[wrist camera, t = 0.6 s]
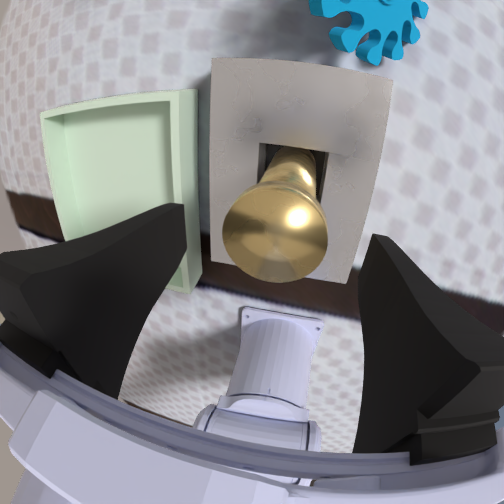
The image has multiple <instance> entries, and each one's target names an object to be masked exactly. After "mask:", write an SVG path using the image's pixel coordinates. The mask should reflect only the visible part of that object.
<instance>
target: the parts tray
mask: <svg viewBox="0 0 504 504" xmlns="http://www.w3.org/2000/svg"><path fill="white" fill-rule="evenodd" d="M40 121H41V130H42V138H43V146H44V152H45V158H46V164H47V170H48V175H49V180H50V184H51V189H52V193H53V198H54V202H55V206H56V210H57V214H58V217H59V221H60V224H61V228H62V231H63V235H64V238H65V241H68V240H72V239H76V238H79V237H83V236H85V235H88V234H91V233H94V232H97V231H100V230H102V229H105V228H108V227H110V226H112V225H115V224H117V223H119V222H122V221H124V220H127V219H129V218H131V217H134V216H136V215H138V214H141V213H143V212H145V211H148V210H150V209H152V208H155V207H157V206H160V205H163V204H166V203H179V204H184V211H185V225H186V238H187V250H186V252H185V254H184V257H183V259H182V261H181V263H180V265H179V267H178V269H177V270H176V272H175V274H174V275H173V277H172V278H171V280H170V281H169V283H168V284H167V286H166V288H165V289H169V290H173V291H178V292H182V293H186V294H191V293H192V291H193V289H194V287H195V285H196V284H197V282H198V280H199V278H200V276H201V275H202V260H201V242H200V221H199V193H198V89H180V90H163V91H151V92H140V93H132V94H124V95H117V96H110V97H104V98H98V99H92V100H87V101H82V102H77V103H73V104H68V105H64V106H60V107H57V108H53V109H50V110H47V111H44V112H41V113H40Z"/></svg>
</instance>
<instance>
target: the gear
mask: <svg viewBox="0 0 504 504" xmlns="http://www.w3.org/2000/svg"><path fill="white" fill-rule="evenodd" d="M309 7H310V12H311V14H312V15H315V16H321V17H328V18H332V17H334V16H336V15H337V14H338V13H341V12H343V11H347V12H349V13H350V14H351V17H352V23H351V25H350V26H349V27H348V28H342V27H334V28H332V29H331V30H330V32H329V36H330V39H331V41H332V43H333V45H334V46H335V47H336V49H338V50H341V51H345V52H348V53H350V52H353V51H354V50H355V49H356V47H357V45H358V43H359V41H360V39H361V38H362V37H363V36H364V35H365V34H366V33H367V32H369V38H368V40H367V41H365V42H363V43H361V44H360V45H359V46H358V47H357V49H356V56H357V57H358V58H359V59H361V60H363V61H365V62H368V63H371V64H373V65H376V66H378V65H379V63H380V61H381V58H382V56H385V57H387V58H390V59H393V60H400V59H402V58H403V53H404V52H403V47H402V41H404V42H407V43H410V44H414V43H416V42H417V41H418V39H419V38H420V32H419V30H418V29H417V27H416V26H415V23H414V21H413V17H412V15H413V16H416V17H419V18H422V19H425V17H426V15H427V12H428V5H427V4H426V3H425V2H422V1H421V0H309Z"/></svg>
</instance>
